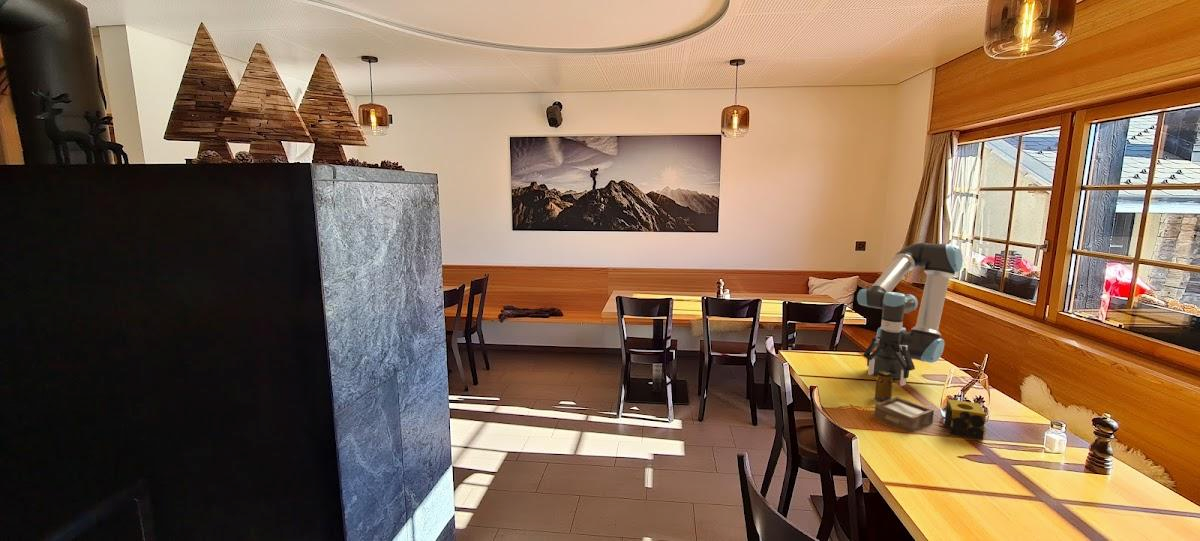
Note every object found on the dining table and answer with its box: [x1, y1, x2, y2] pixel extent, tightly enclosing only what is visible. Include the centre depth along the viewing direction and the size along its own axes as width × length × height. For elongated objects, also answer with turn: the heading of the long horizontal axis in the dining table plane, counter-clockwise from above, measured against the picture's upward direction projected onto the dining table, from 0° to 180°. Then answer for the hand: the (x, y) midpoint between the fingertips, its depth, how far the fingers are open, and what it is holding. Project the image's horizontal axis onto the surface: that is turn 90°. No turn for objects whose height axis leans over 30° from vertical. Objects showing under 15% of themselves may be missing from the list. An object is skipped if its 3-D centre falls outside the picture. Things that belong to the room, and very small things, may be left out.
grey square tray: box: [873, 396, 935, 433], centre depth 188 cm, size 14×14×5 cm
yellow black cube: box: [944, 398, 987, 440], centre depth 179 cm, size 10×10×10 cm
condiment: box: [870, 371, 894, 403], centre depth 205 cm, size 7×8×12 cm
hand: (886, 379), depth 204 cm, fingers open, 13 cm apart
